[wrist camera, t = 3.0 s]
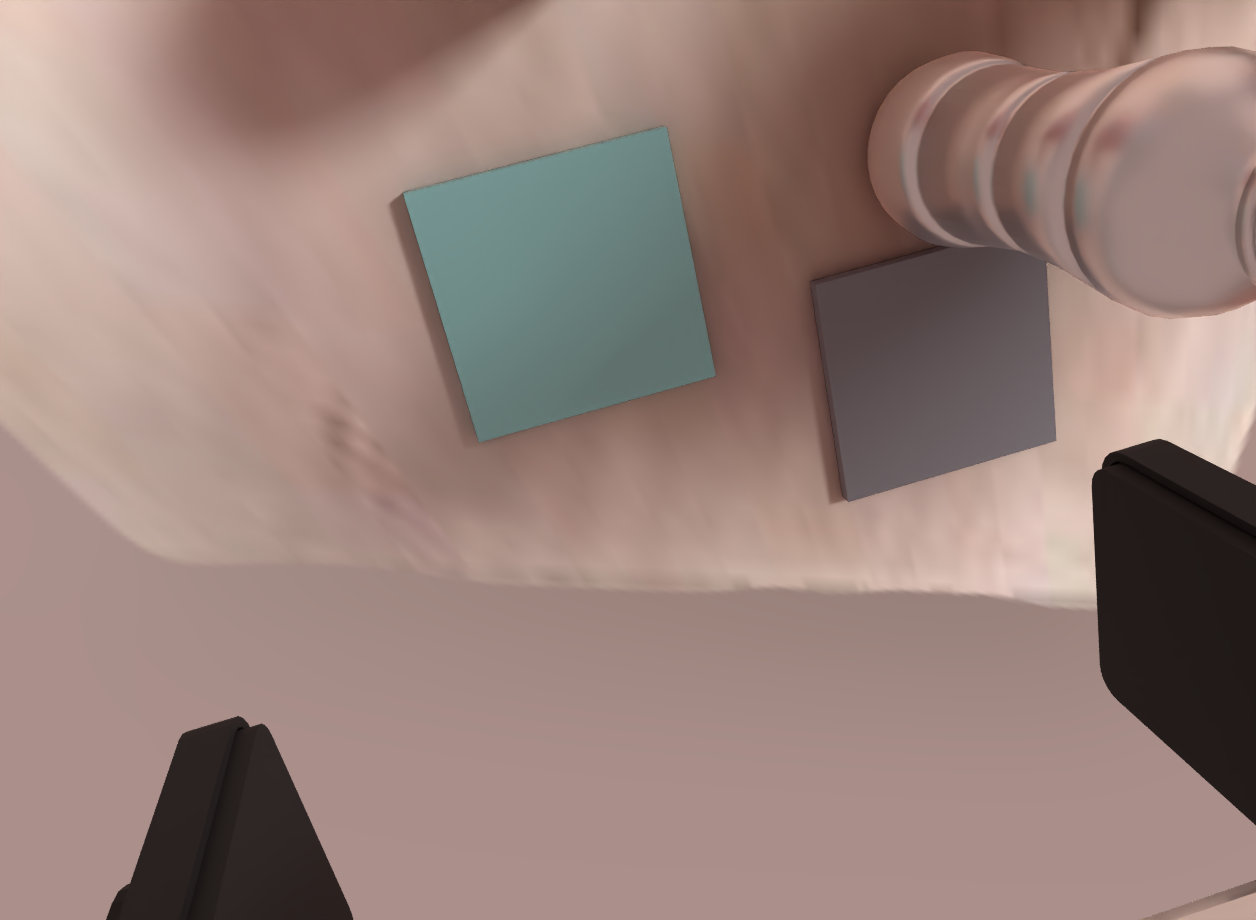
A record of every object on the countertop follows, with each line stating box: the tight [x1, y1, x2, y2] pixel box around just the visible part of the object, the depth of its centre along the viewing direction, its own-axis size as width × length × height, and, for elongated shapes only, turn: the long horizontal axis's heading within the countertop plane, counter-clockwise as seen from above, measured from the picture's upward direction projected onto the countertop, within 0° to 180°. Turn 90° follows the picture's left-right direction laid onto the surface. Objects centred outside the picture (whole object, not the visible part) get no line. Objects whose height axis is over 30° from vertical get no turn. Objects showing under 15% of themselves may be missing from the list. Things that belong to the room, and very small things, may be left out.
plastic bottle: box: [868, 47, 1256, 319], centre depth 30 cm, size 6×7×20 cm
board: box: [403, 126, 716, 442], centre depth 38 cm, size 10×10×1 cm
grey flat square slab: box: [810, 246, 1056, 502], centre depth 42 cm, size 10×10×1 cm
